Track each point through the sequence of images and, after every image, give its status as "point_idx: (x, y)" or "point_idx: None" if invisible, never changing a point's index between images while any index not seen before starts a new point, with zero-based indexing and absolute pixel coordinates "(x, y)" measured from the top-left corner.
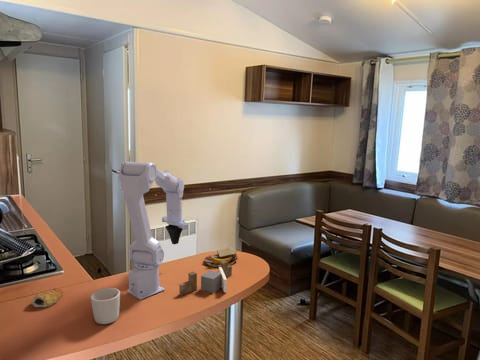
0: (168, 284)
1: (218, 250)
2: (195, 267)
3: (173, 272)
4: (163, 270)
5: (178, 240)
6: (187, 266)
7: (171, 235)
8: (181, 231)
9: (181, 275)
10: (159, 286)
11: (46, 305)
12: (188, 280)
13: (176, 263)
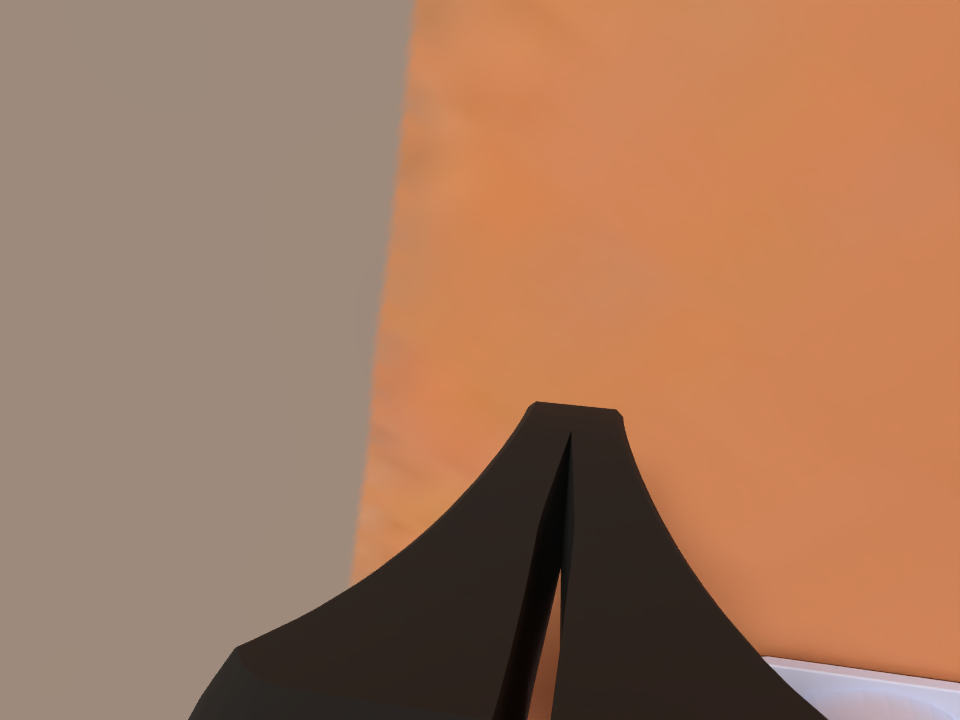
0: (941, 591)
1: None
2: (904, 19)
3: (734, 369)
4: None
5: (627, 458)
6: (746, 94)
7: (525, 713)
8: (745, 653)
9: (908, 364)
10: (921, 695)
11: None
12: None
13: (506, 142)
